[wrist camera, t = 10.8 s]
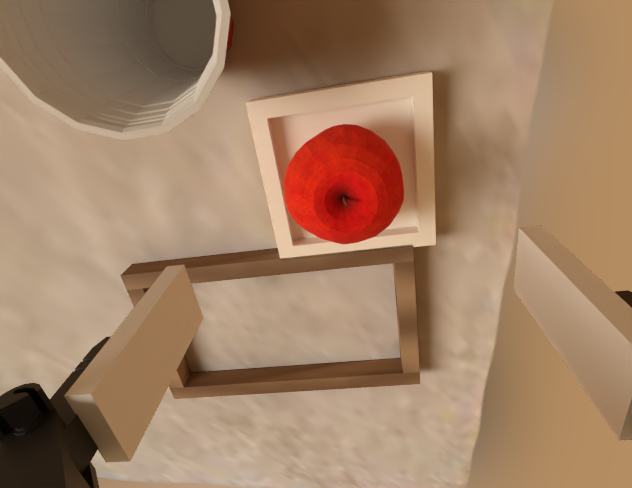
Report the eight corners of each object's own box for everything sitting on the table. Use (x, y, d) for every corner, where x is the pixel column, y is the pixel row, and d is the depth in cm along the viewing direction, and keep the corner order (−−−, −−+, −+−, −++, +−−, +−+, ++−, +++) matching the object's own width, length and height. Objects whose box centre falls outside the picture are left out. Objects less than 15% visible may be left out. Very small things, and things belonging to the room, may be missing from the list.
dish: (251, 99, 28) (245, 102, 26) (426, 71, 27) (432, 72, 25) (284, 250, 34) (280, 261, 32) (430, 234, 32) (435, 244, 30)
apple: (294, 219, 31) (281, 264, 25) (287, 118, 28) (270, 138, 21) (394, 218, 31) (407, 263, 24) (399, 114, 27) (417, 134, 21)
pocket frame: (131, 264, 35) (120, 275, 33) (409, 233, 32) (413, 244, 30) (181, 384, 42) (174, 398, 40) (416, 368, 39) (420, 383, 37)
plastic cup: (275, 111, 28) (233, 148, 18) (132, 105, 29) (7, 136, 18) (273, -74, 24) (213, -178, 13) (101, -79, 24) (-94, -183, 13)
